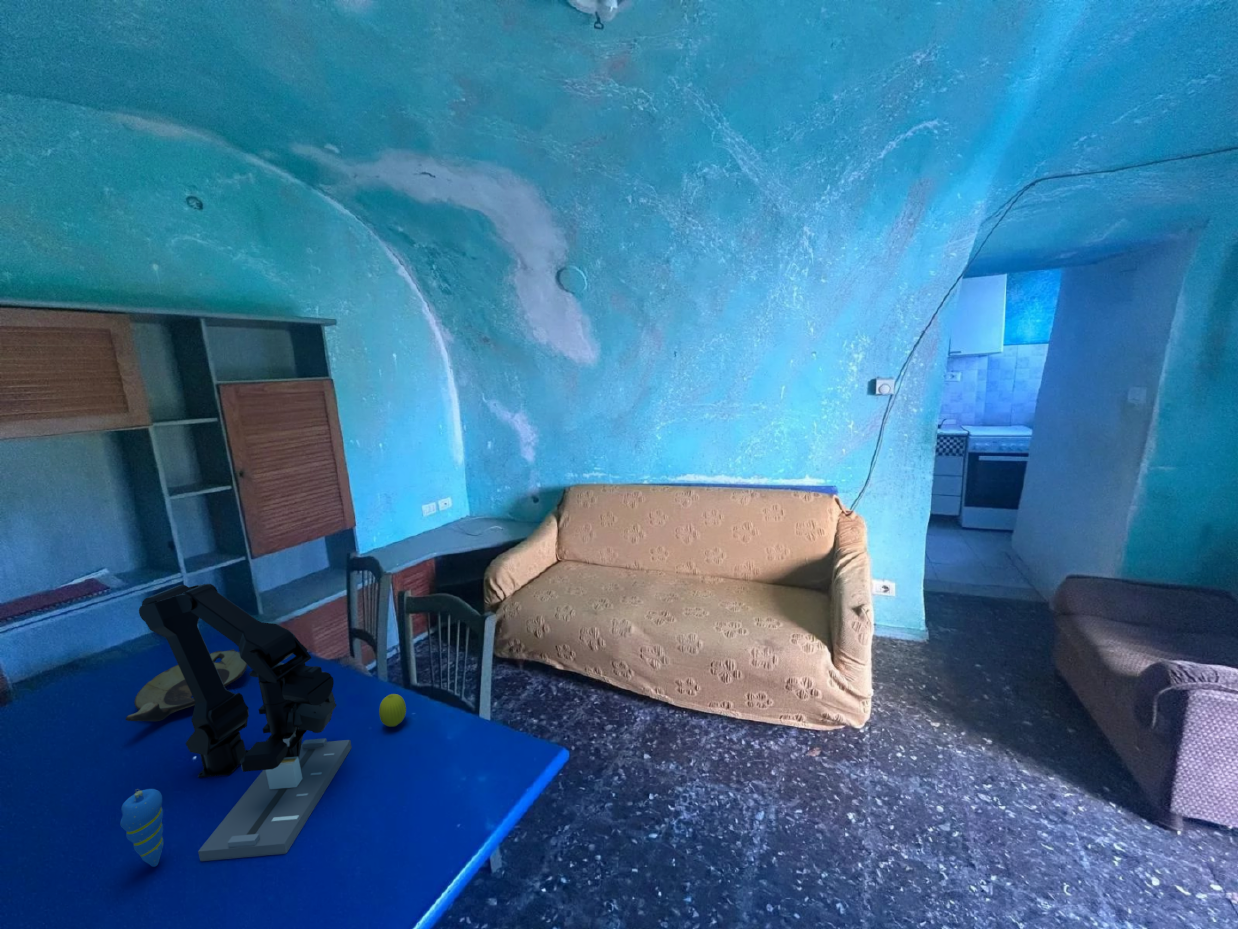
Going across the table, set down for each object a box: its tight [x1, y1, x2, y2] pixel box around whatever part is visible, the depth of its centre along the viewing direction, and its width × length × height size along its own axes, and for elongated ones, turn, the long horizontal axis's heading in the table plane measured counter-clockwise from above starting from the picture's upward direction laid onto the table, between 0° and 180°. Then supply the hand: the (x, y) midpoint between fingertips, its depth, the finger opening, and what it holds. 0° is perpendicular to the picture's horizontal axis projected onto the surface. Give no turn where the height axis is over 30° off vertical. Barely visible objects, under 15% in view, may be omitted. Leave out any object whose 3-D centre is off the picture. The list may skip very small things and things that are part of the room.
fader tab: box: [266, 757, 302, 789], centre depth 96 cm, size 5×2×5 cm, turn 94°
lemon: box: [378, 693, 407, 728], centre depth 114 cm, size 6×6×8 cm
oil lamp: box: [124, 648, 248, 722], centre depth 127 cm, size 22×30×8 cm
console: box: [197, 737, 352, 862], centre depth 96 cm, size 14×24×3 cm, turn 3°
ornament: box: [119, 788, 165, 868], centre depth 83 cm, size 5×5×15 cm
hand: (294, 765), depth 100 cm, fingers closed
